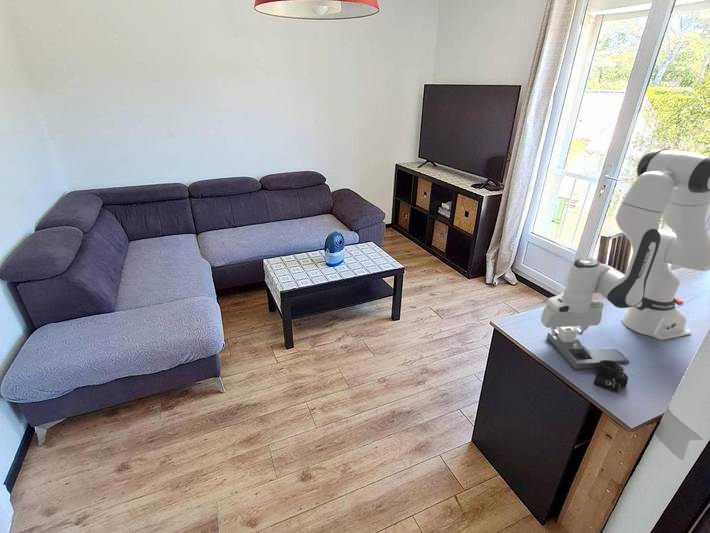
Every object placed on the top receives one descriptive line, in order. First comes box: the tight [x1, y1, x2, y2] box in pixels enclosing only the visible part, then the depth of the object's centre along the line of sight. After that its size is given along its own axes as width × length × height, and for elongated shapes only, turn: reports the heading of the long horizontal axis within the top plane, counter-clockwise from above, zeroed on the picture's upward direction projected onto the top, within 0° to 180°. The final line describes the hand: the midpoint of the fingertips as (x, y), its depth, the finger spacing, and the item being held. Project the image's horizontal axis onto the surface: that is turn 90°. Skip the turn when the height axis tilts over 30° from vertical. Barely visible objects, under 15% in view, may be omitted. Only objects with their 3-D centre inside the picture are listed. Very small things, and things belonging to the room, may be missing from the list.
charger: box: [556, 326, 578, 343], centre depth 134 cm, size 4×4×7 cm
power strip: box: [546, 329, 600, 371], centre depth 131 cm, size 8×18×4 cm, turn 3°
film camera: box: [593, 360, 629, 393], centre depth 118 cm, size 13×8×10 cm
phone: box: [587, 348, 630, 365], centre depth 128 cm, size 13×6×1 cm, turn 93°
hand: (566, 334), depth 134 cm, fingers open, 8 cm apart
